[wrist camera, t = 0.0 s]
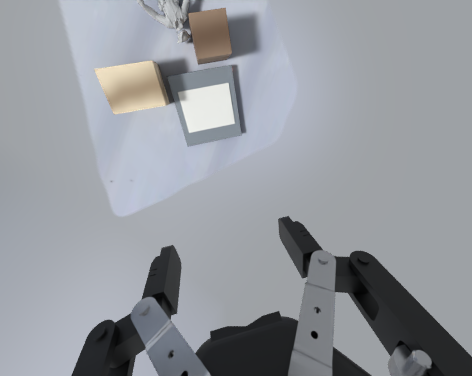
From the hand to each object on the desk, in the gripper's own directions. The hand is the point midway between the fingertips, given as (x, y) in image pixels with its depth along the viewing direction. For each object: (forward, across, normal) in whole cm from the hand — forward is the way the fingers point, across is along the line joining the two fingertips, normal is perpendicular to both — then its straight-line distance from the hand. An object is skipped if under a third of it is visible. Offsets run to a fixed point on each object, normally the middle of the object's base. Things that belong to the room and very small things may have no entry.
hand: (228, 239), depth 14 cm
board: (+28, -1, -7) cm, 29 cm away
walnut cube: (+28, -4, -16) cm, 33 cm away
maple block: (+28, +9, -12) cm, 32 cm away
